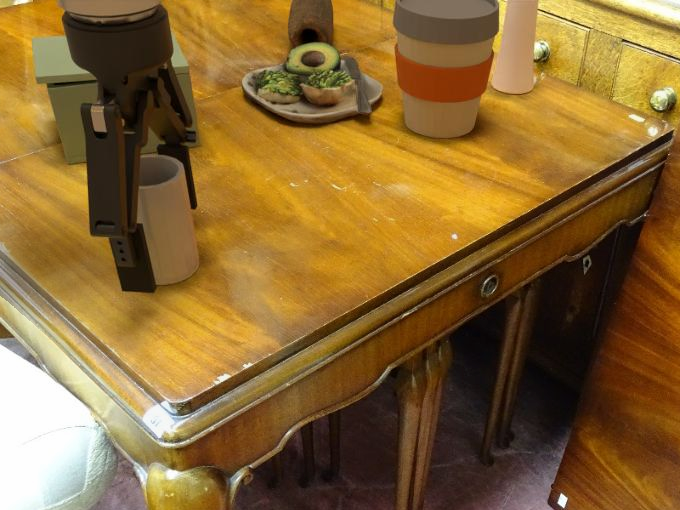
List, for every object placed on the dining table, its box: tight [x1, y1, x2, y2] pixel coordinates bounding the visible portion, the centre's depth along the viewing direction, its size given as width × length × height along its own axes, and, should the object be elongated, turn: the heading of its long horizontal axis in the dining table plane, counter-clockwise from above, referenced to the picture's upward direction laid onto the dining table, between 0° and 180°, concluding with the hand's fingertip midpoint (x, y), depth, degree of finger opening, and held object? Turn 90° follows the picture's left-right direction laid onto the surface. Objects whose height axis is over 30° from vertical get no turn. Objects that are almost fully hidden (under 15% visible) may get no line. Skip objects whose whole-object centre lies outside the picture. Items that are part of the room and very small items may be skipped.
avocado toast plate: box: [241, 42, 384, 125], centre depth 101 cm, size 19×18×5 cm
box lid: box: [30, 29, 191, 85], centre depth 86 cm, size 15×12×1 cm
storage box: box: [46, 72, 202, 165], centre depth 89 cm, size 15×12×9 cm
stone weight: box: [287, 0, 334, 49], centre depth 116 cm, size 15×7×7 cm, turn 8°
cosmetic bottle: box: [490, 0, 539, 95], centre depth 102 cm, size 6×6×22 cm
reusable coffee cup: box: [392, 0, 500, 139], centre depth 94 cm, size 13×13×15 cm
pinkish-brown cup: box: [137, 153, 201, 286], centre depth 69 cm, size 6×6×10 cm
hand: (162, 245), depth 71 cm, fingers open, 13 cm apart
